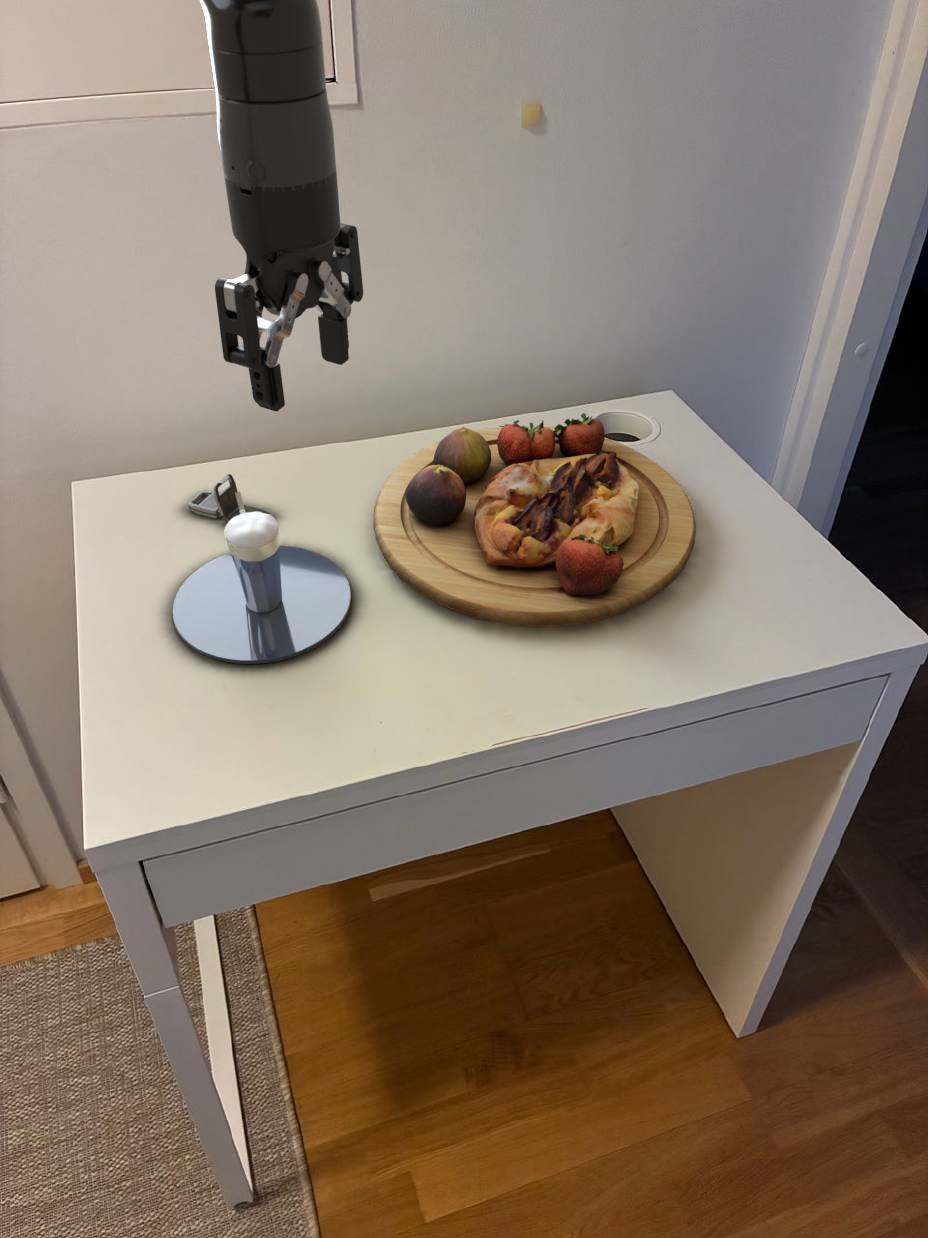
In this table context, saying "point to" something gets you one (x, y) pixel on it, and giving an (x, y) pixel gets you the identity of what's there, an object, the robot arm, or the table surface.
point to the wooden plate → (534, 524)
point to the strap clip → (220, 502)
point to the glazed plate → (239, 635)
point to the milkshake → (256, 557)
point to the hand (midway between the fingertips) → (304, 383)
